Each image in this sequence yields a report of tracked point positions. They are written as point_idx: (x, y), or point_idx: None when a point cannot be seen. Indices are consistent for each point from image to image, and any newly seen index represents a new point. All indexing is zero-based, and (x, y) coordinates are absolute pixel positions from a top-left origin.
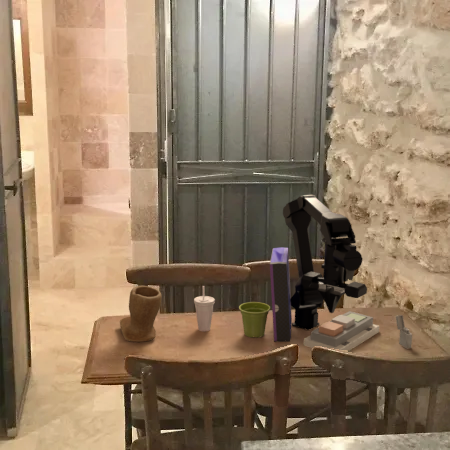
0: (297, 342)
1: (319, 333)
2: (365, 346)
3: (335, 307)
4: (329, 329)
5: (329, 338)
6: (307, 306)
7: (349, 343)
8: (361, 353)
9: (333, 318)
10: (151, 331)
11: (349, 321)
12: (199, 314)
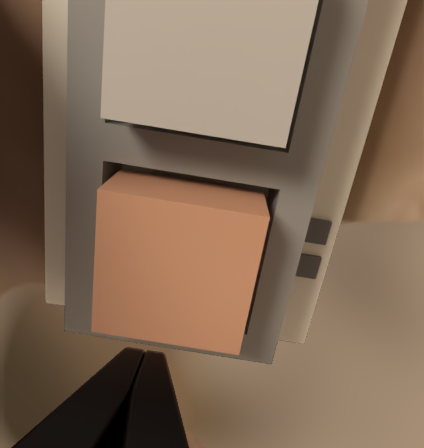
0: (14, 262)
1: None
2: (412, 97)
3: (176, 419)
4: (194, 344)
5: None
6: None
7: (332, 230)
8: (405, 220)
9: (106, 84)
10: None
11: (299, 72)
12: None
